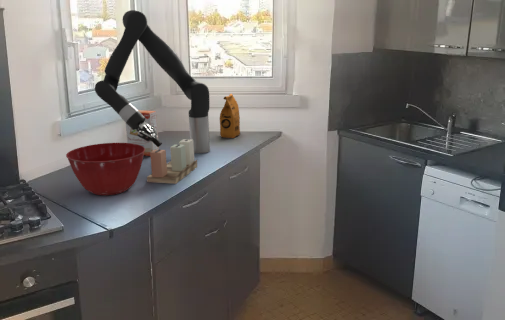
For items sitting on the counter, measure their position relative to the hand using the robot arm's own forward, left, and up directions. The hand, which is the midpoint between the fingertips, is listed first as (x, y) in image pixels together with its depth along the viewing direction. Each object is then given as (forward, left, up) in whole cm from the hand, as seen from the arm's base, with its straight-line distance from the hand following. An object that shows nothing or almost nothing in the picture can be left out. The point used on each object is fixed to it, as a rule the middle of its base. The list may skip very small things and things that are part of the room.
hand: (160, 145), depth 221 cm
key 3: (+19, 0, -7) cm, 21 cm away
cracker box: (-23, -9, -10) cm, 27 cm away
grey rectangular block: (+5, +11, -7) cm, 14 cm away
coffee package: (-51, +35, -10) cm, 63 cm away
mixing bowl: (+27, -18, -10) cm, 34 cm away
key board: (+12, +5, -10) cm, 16 cm away
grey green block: (+13, +8, -7) cm, 17 cm away
